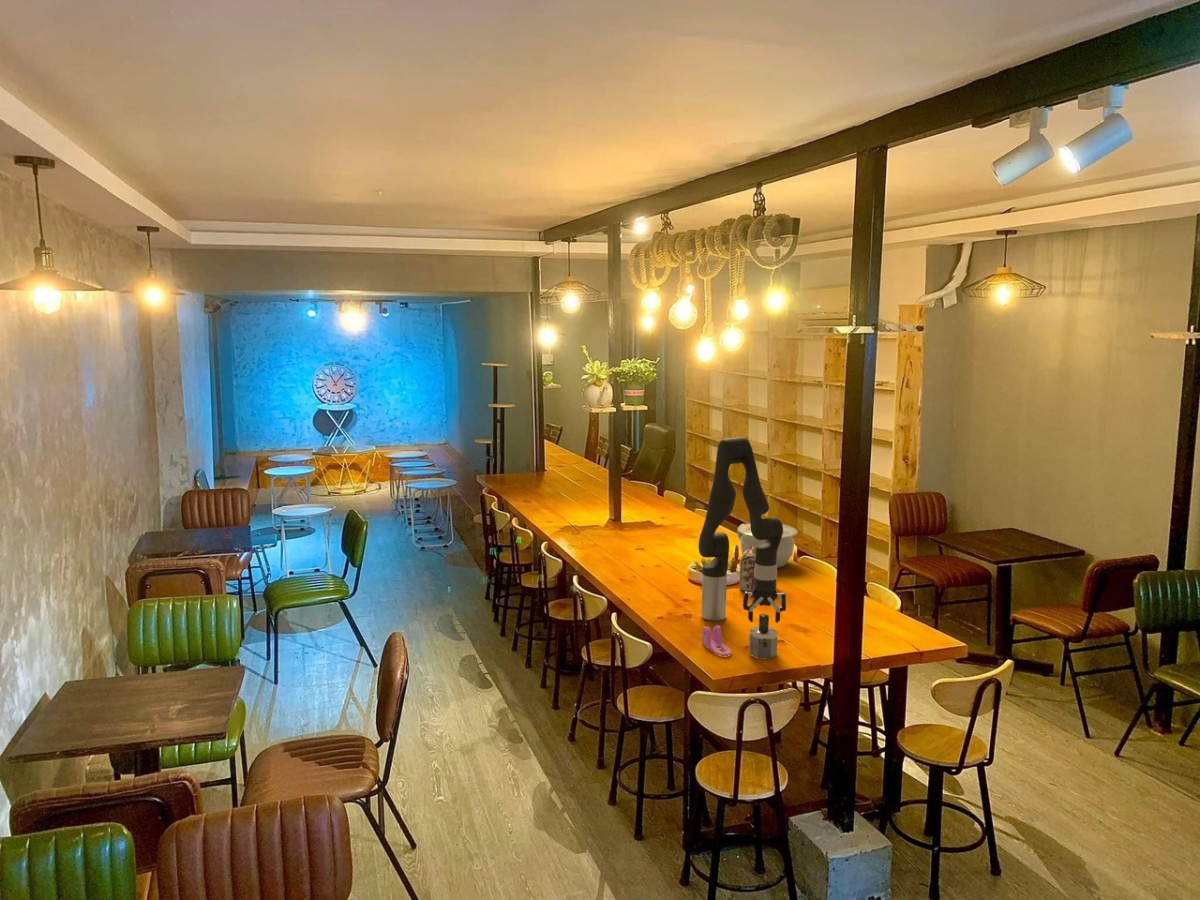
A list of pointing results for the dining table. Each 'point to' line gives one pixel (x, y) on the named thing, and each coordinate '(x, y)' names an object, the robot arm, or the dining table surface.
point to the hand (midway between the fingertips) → (763, 621)
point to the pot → (763, 648)
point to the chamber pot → (750, 541)
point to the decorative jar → (747, 570)
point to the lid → (763, 629)
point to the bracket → (715, 641)
